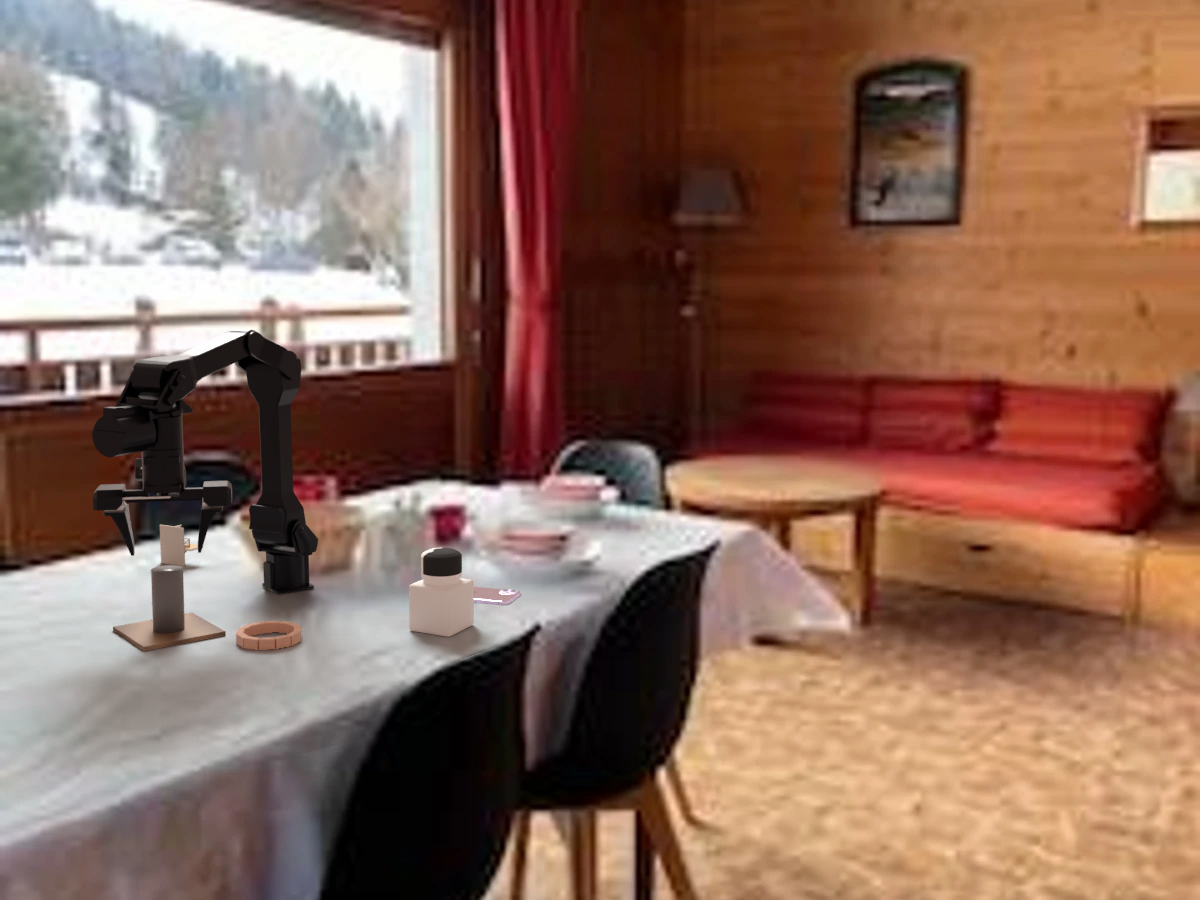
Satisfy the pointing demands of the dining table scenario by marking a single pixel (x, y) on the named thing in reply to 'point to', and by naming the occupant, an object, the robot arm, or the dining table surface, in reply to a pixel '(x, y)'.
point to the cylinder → (168, 599)
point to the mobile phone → (495, 595)
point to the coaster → (149, 639)
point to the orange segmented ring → (271, 642)
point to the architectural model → (174, 545)
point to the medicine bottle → (441, 595)
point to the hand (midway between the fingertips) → (166, 553)
